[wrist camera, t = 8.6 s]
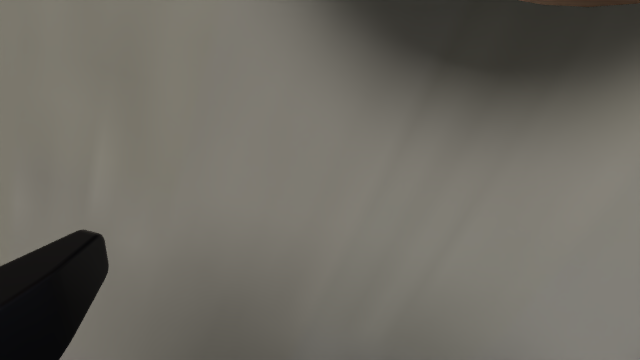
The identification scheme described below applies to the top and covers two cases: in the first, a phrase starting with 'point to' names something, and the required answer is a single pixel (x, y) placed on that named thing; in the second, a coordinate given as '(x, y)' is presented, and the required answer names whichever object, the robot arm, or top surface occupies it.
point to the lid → (583, 2)
